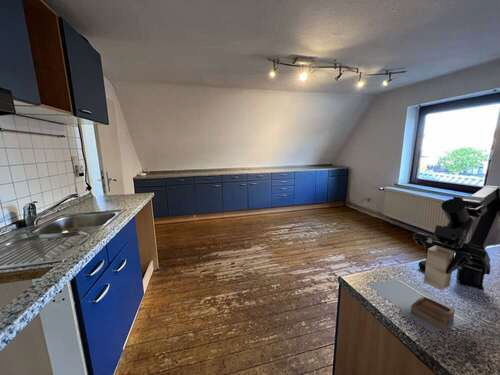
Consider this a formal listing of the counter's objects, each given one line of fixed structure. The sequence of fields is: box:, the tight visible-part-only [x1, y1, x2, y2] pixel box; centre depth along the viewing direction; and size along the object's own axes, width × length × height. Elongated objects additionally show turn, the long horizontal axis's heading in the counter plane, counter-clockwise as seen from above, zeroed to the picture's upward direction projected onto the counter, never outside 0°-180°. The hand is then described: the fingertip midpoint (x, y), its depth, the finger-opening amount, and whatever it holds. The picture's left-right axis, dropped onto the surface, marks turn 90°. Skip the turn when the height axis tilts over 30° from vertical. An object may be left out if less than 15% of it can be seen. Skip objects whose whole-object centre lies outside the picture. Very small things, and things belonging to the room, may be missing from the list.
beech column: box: [423, 246, 456, 291], centre depth 72 cm, size 5×5×12 cm
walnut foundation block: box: [411, 296, 455, 331], centre depth 68 cm, size 8×8×3 cm
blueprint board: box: [367, 277, 475, 334], centre depth 75 cm, size 16×24×1 cm, turn 14°
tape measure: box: [418, 259, 426, 273], centre depth 95 cm, size 7×7×4 cm
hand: (436, 269), depth 72 cm, fingers closed on beech column, 5 cm apart
